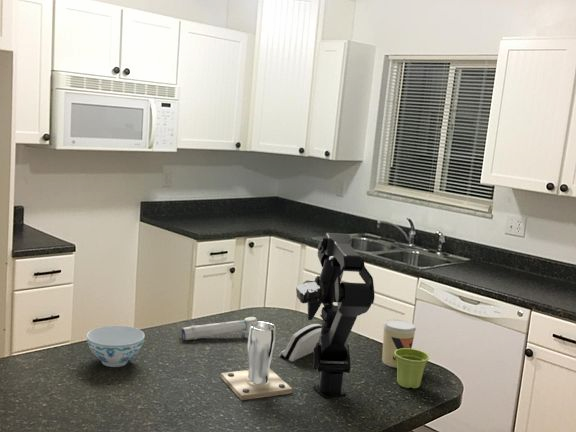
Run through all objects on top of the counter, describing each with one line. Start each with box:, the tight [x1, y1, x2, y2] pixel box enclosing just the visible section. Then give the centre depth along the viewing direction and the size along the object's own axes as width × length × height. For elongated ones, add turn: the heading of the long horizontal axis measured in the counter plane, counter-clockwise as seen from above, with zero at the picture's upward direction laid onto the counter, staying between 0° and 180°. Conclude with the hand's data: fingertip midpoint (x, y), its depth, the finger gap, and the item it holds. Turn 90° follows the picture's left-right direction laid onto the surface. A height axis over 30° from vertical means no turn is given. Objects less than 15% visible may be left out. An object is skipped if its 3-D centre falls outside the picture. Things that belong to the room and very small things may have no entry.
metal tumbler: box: [246, 321, 276, 386], centre depth 164 cm, size 7×7×15 cm
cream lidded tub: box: [381, 319, 416, 369], centre depth 189 cm, size 9×9×12 cm
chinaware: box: [86, 325, 146, 368], centre depth 171 cm, size 15×15×8 cm
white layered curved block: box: [278, 323, 322, 362], centre depth 190 cm, size 17×5×10 cm, turn 145°
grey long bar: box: [180, 316, 259, 341], centre depth 198 cm, size 5×7×25 cm
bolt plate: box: [220, 367, 293, 401], centre depth 165 cm, size 14×14×2 cm
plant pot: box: [395, 348, 430, 389], centre depth 174 cm, size 9×9×9 cm
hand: (315, 328), depth 176 cm, fingers open, 9 cm apart
